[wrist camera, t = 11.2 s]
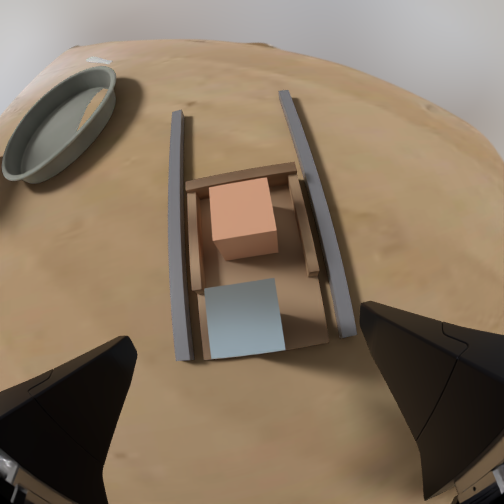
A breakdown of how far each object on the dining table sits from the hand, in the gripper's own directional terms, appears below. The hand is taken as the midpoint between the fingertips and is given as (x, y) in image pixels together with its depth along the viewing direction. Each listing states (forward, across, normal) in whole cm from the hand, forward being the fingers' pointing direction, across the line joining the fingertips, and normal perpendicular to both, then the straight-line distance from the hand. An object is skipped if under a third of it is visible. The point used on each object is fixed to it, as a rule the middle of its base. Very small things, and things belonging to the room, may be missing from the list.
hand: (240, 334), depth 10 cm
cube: (+15, 0, -2) cm, 15 cm away
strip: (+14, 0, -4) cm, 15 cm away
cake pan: (+34, -28, +16) cm, 47 cm away
